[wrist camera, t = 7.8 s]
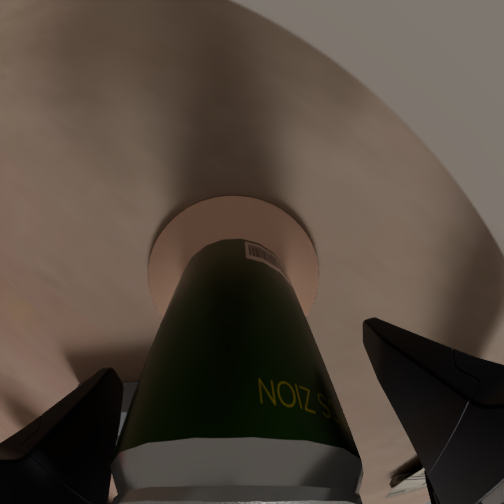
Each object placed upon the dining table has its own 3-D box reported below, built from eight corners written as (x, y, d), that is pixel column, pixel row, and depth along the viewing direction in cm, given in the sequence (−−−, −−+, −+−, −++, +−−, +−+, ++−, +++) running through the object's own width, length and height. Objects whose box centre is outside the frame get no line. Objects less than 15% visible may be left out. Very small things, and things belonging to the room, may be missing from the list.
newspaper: (499, 437, 31) (506, 446, 28) (458, 473, 34) (464, 483, 31) (437, 434, 24) (448, 453, 21) (370, 485, 27) (376, 503, 24)
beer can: (206, 216, 13) (102, 452, 2) (305, 259, 14) (431, 478, 3) (170, 307, 15) (98, 524, 4) (259, 340, 16) (287, 552, 4)
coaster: (302, 177, 14) (304, 178, 13) (325, 330, 16) (326, 334, 16) (128, 220, 14) (125, 222, 13) (181, 359, 17) (180, 363, 16)
